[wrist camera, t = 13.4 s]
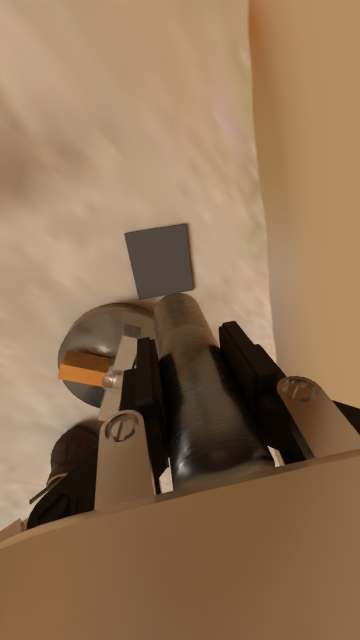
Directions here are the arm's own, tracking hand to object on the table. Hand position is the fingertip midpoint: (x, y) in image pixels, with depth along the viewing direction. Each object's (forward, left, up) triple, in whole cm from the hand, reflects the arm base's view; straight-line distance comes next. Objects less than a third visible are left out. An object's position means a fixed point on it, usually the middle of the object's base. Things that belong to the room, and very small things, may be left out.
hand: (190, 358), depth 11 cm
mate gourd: (+26, -17, -21) cm, 37 cm away
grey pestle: (0, 0, -5) cm, 5 cm away
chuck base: (+12, -7, -21) cm, 25 cm away
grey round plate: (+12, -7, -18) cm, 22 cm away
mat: (0, 0, -21) cm, 21 cm away
